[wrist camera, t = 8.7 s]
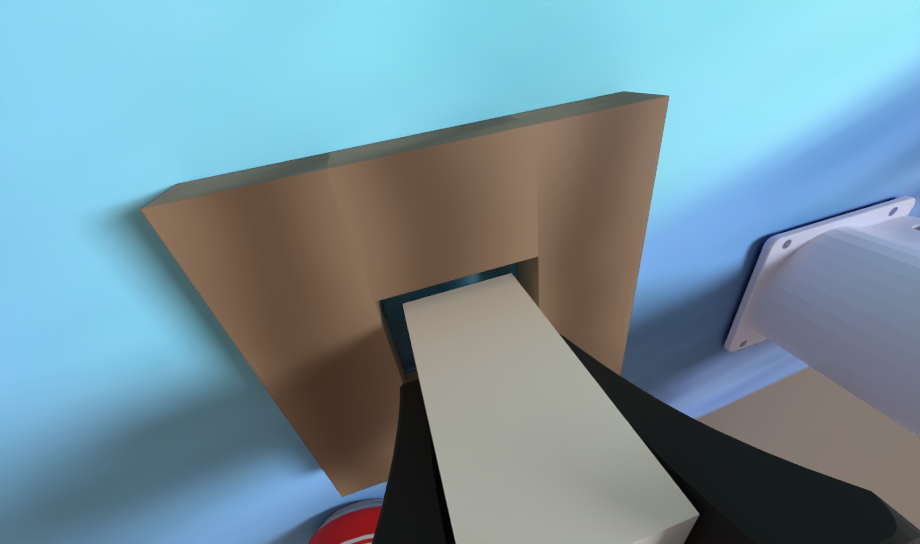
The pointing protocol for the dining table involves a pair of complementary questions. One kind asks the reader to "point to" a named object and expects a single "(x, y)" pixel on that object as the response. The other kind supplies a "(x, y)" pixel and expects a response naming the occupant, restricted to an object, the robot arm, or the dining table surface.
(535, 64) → the dining table surface
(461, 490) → the peg
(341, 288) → the slotted board
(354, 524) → the beer can
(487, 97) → the dining table surface
